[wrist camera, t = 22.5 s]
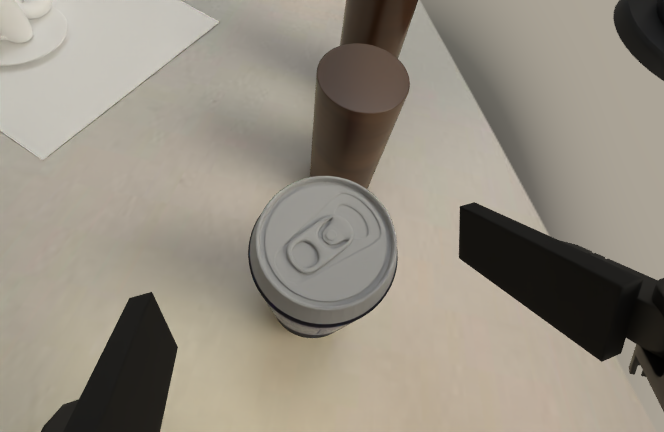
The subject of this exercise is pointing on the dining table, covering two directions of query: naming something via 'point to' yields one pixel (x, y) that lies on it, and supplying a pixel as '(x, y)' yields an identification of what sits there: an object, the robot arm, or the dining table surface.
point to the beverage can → (323, 254)
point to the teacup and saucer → (17, 16)
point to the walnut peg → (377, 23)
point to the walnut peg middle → (355, 110)
